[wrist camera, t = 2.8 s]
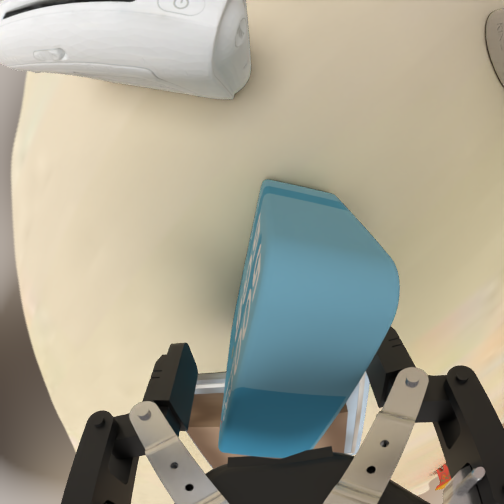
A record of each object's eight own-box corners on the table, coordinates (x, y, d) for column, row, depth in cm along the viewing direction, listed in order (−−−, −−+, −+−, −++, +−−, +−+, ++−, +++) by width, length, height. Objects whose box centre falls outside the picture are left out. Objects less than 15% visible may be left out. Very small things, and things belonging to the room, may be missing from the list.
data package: (263, 174, 19) (268, 255, 8) (331, 189, 19) (415, 282, 8) (232, 325, 24) (215, 461, 13) (287, 334, 24) (299, 468, 13)
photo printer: (261, 46, 15) (265, -61, 4) (242, 108, 17) (210, 83, 6) (113, 26, 14) (-14, -26, 3) (96, 82, 16) (-48, 76, 5)
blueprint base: (370, 350, 25) (385, 389, 20) (357, 449, 33) (362, 477, 28) (157, 375, 27) (144, 413, 22) (213, 464, 35) (210, 492, 30)
